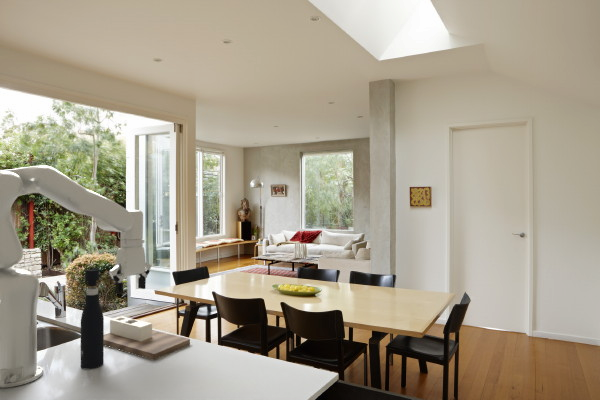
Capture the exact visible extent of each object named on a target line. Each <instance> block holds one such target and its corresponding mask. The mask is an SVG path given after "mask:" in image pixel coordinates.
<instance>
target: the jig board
mask: <svg viewBox="0 0 600 400" xmlns="http://www.w3.org/2000/svg"><path fill="white" fill-rule="evenodd" d="M135 320H136V319H134V318H131V319H130V320H128V323H129V324H132V323H135ZM105 345H106V346H105ZM190 345H191V339H190V338H187V337H183V336H179V335H175V334H170V333H166V332H163V331H159V330H154V329H152V337H151V338H149V339H146V340H143V341H137V340H133V339H130V338H126V337H122V336H119V335H115V334H111V333H110V332H108V333H104V346H105V347H108V346H110V347H109V348H111V347H113V348H112V349H115V348H116V349H115V350H118V349H120V350H119V351H122V350H123V352H125V351H126V353H128V352H130V353H129V354H132V353H133V355H135V354H136V356H138V355H139V357H142V356H143V357H142V358H145V357H146V359H149V360H151V361H152V360H153V361H156V360H158V359H160V358H162V357H165V356H167V355H170V354H171V353H173V352H174V353H175V352H176V351H179V350H181V349H183V348H185V347H188V346H190Z"/></svg>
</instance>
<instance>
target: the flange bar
mask: <svg viewBox="0 0 600 400" xmlns="http://www.w3.org/2000/svg"><path fill="white" fill-rule="evenodd" d="M130 319H132V318H131V317H127V316H123V315H122V316H118V317H115V318H111V319H110V320H109V333H111V334H115V335H119V336H122V337H126V338H130V339H133V340H137V341H143V340H146V339H149V338H151V337H152V330H153V323H152V322H147V321H143V320H140V319H135V323H132V324H129V323H128V320H130Z"/></svg>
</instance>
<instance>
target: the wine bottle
mask: <svg viewBox="0 0 600 400" xmlns="http://www.w3.org/2000/svg"><path fill="white" fill-rule="evenodd" d="M84 276H85V277H84V278H85V282H87V288H86V290H85V291H86V294H85V304H84V307H83V310H82V312H81V317H80V318H81V319H80V368H81V369H83V370H93V369H97V368H99V367H102V366H103V365H104V361H105V360H104V354H105V353H104V347H105V345H104V335H105V332H104V330H105V329H104V312H103V309H102V307H101V304H100V294H99V289H98V287H97V286H98V284H97V282H98V281H99V280H100V268H88V269H85V274H84Z"/></svg>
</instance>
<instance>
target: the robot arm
mask: <svg viewBox="0 0 600 400" xmlns="http://www.w3.org/2000/svg"><path fill="white" fill-rule="evenodd" d="M30 194H40V195H42V196H44V197H46V198H48V199H49V200H50V201H53V202H55V203H57V204H58V205H60V206H61V207H63V208H65V209H67V210H69V211H71V212H73V213H75V214H79V215H84V216H88V217H92V218H93V219H95V225H96V226H97V227H98V228H99V229H101V230H102V231H106V232H116V233H120V245H119V246H120V247H119V248H118V249H117V253H116V256H115V265H114V267H113V268H112V269H110V270H109V271H108V274H109V276H110V278H111V280H113V283H115V287H114V288H115V293H116V294H118V295H122V294H123V293H124V282H123V280H124V279H125V278H126V277H132V276H136V275H138V279H137V281H138V282H137V283H138V285H137V288H138V289H141V290H146V282H147V281H146V280H147V278H148V275H149V274H150V271H151V268H152V264H151V263H148V262H146V253H145V247H144V246H143V244H145V239H144V213H143V211H142V210H139V209H126V208H125V207H124V206H122V205H120V204H118V203H117V202H116V201H113V200H112V199H109V198H107V197H105V196H103V195H100V194H99V193H97V192H94V191H93V190H90V189H88V188H86V187H85V186H83V185H81V184H79V183H78V182H77V181H75V180H73V179H71V178H70V177H68V176H67V175H66V174H64V173H62V172H61V171H59V170H58V169H56V168H54V167H53V166H49V165H44V164H43V165H42V164H41V165H30V166H24V167H18V168H17V167H16V168H12V169H11V168H10V169H1V170H0V388H14V387H19V386H22V385H26V384H29V383H31V382H33V381H36V380H38V379H39V378H41V377H42V376H43V373H44V368H43V367H41V366H40V365H38V354H37V353H38V335H37V333H38V322H37V320H38V319H37V318H38V317H37V315H38V312H37V310H38V303H39V297H40V290H41V284H40V280H39V279H38V277H37V275H36V274H34V273H33V272H31V271H29V270H27V269H22V268H18V267H17V265H18V264H20V263H21V261H22V259H23V257H24V256H23V255H24V249H23V245H22V244H21V240H20V239H19V236H18V233H17V231H16V229H15V226H14V223H13V219H12V214H11V212H12V207H13V204H14V202H15V201H16V200H17V198H18V197H20V196H23V195H30Z"/></svg>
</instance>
